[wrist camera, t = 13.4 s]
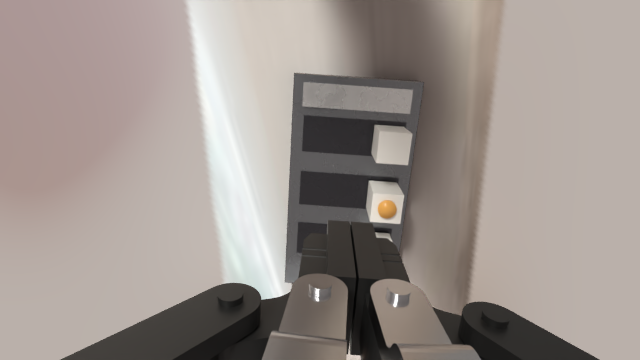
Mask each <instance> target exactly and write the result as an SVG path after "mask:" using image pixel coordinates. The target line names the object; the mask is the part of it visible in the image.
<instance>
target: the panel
mask: <svg viewBox="0 0 640 360" xmlns="http://www.w3.org/2000/svg"><path fill="white" fill-rule="evenodd" d="M423 85H424V82H419V81H405V80H391V79H376V78H362V77H348V76H334V75H320V74H306V73H294V89H293V111H292V134H291V156H290V178H289V200H288V223H287V245H286V267H285V282H288V283H294V282H295V281H296V280H297V279H298V276H299V270H300V263H301V256H302V250H303V243H304V239H305V238H306V237H307V236H308V235H310V234H311V233H320V234H327V223H328V220H336V221H349V223H350V222H365V223H373V227H374V230H375V232H377V233H389V234H390V237H391V239H392V242H393V243H394V244H395V245H396V246H397V249H398V251H399V250H400V244H401V237H402V230H403V223H404V216H405V209H406V202H407V195H408V189H409V182H410V175H411V168H412V161H413V154H414V147H415V140H416V133H417V127H418V120H419V113H420V106H421V99H422V92H423ZM374 125H388V126H402V127H405V128H406V129H407V130H409V131H410V132H411V133H412V141H411V148H410V155H409V162H408V165H397V164H383V163H376V162H375V160H374V158H373V156H372V153H371V151H372V142H373V133H374ZM369 180H370V181H384V182H397V184H398V185H399V187H400V189H401V191H402V192H403V194H404V201H403V208H402V215H401V222H400V224H393V223H379V222H370V220H369V217H368V213H367V209H366V201H367V192H368V183H369Z"/></svg>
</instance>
